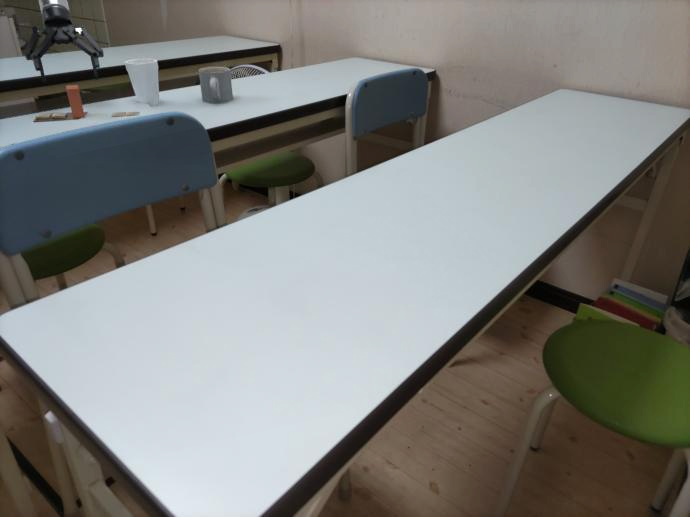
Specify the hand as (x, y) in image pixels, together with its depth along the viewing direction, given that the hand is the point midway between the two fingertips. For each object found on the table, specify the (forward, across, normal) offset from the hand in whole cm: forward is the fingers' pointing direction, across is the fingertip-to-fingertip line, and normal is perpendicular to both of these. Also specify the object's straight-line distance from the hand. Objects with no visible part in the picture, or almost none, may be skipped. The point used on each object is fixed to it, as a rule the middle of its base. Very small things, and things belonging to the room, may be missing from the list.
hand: (70, 78), depth 145 cm
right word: (+14, -10, -1) cm, 17 cm away
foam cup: (+4, -21, -11) cm, 24 cm away
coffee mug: (+7, -41, -8) cm, 42 cm away
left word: (+10, +4, -4) cm, 12 cm away
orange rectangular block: (+10, 0, -3) cm, 11 cm away
